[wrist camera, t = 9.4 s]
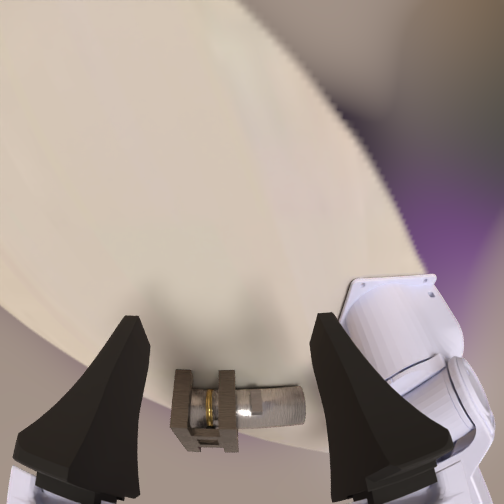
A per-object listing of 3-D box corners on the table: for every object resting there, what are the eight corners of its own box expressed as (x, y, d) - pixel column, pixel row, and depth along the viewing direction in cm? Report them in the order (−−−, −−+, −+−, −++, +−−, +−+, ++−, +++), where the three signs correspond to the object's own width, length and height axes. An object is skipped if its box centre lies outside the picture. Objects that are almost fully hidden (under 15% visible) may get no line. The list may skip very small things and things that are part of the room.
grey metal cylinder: (301, 376, 32) (308, 415, 28) (294, 397, 36) (300, 432, 32) (177, 379, 32) (174, 419, 27) (186, 400, 35) (184, 435, 31)
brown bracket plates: (234, 370, 31) (236, 429, 25) (236, 405, 37) (238, 452, 31) (175, 369, 31) (169, 427, 25) (189, 405, 37) (187, 451, 31)
